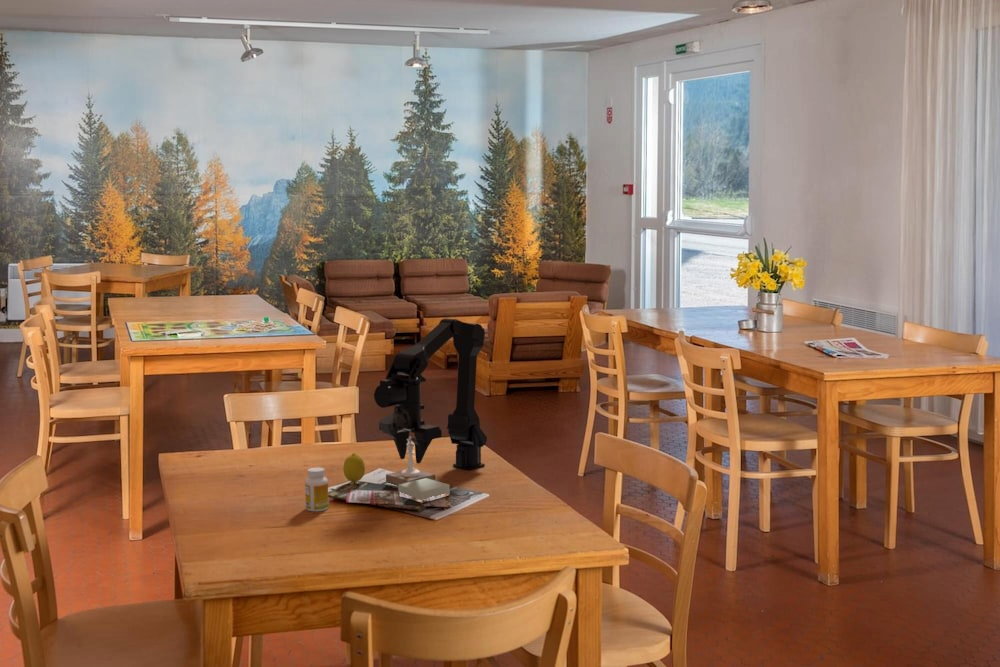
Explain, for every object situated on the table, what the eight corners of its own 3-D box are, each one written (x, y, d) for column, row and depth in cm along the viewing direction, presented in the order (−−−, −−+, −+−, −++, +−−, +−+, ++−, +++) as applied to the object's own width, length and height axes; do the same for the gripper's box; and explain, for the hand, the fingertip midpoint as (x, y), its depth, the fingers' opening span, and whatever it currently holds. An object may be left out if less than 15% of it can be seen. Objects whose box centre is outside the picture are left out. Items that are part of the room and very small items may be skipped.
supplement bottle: (332, 506, 267) (331, 467, 266) (322, 512, 262) (321, 472, 260) (311, 504, 268) (310, 465, 267) (302, 511, 263) (300, 471, 262)
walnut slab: (413, 479, 291) (412, 468, 291) (435, 485, 285) (435, 474, 284) (386, 485, 285) (385, 474, 285) (408, 492, 279) (408, 480, 278)
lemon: (354, 479, 291) (354, 449, 290) (369, 483, 288) (369, 453, 287) (339, 483, 287) (338, 453, 286) (354, 487, 283) (353, 457, 282)
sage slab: (426, 489, 281) (425, 477, 281) (449, 496, 275) (449, 484, 275) (398, 496, 275) (398, 484, 275) (421, 503, 269) (421, 491, 268)
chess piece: (399, 472, 286) (398, 435, 285) (418, 471, 288) (417, 433, 286) (403, 477, 281) (402, 439, 280) (422, 476, 283) (421, 437, 282)
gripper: (361, 400, 283) (363, 460, 285) (408, 411, 270) (409, 473, 272) (396, 394, 291) (397, 452, 293) (442, 404, 278) (443, 465, 280)
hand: (410, 461), depth 284 cm, fingers open, 6 cm apart
